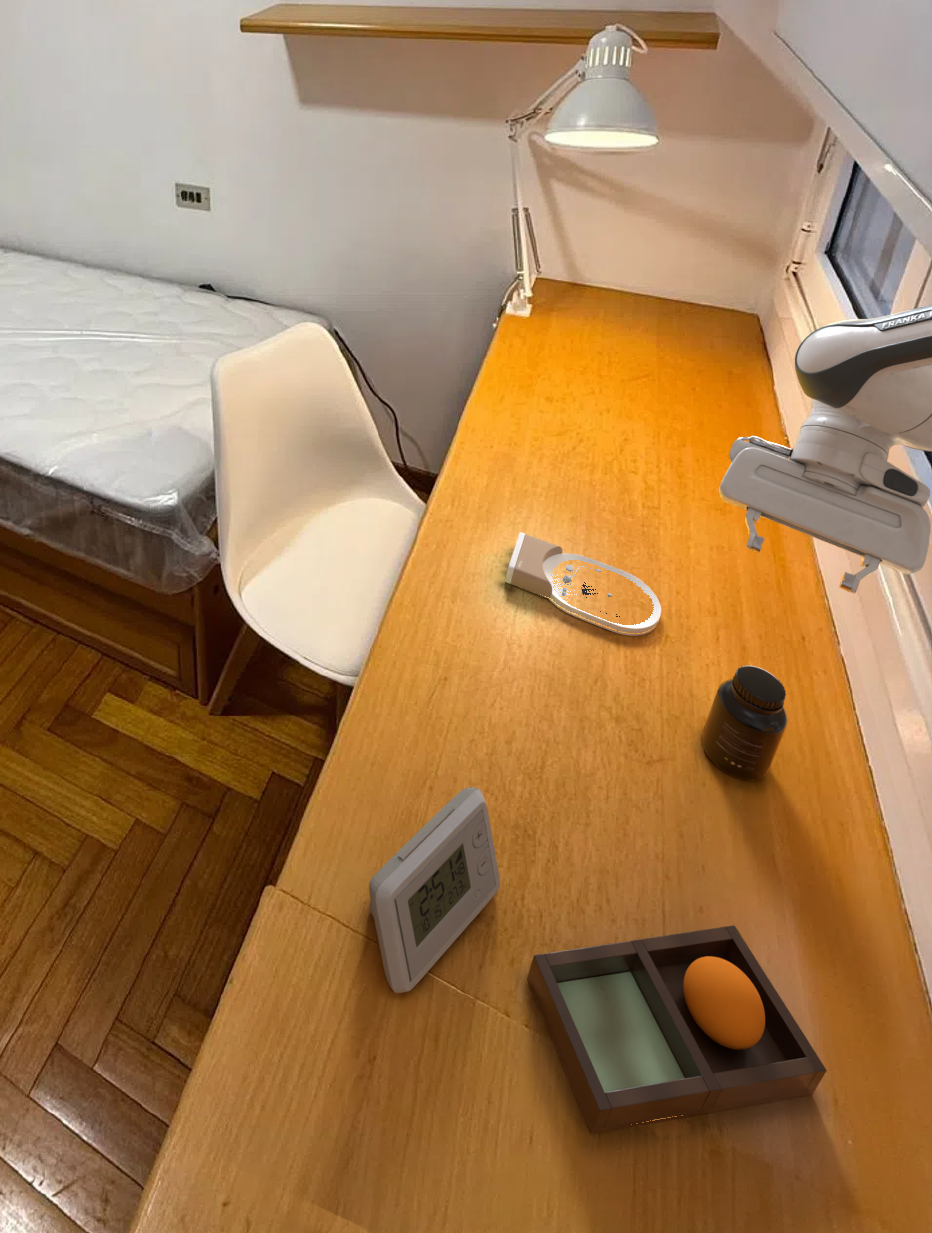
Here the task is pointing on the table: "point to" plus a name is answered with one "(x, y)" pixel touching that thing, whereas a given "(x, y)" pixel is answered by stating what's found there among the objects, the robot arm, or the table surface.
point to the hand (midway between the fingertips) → (798, 569)
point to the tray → (662, 1032)
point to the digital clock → (434, 888)
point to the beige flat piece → (566, 580)
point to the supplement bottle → (746, 723)
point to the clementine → (724, 1003)
